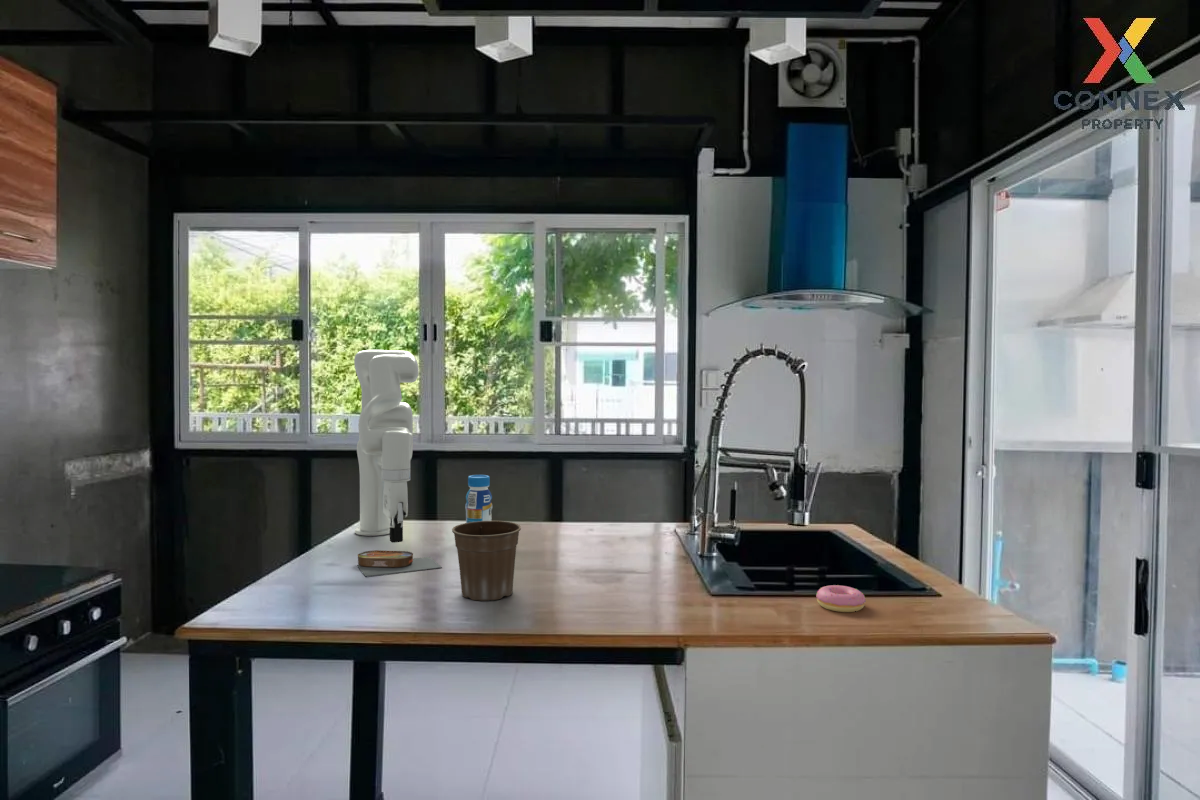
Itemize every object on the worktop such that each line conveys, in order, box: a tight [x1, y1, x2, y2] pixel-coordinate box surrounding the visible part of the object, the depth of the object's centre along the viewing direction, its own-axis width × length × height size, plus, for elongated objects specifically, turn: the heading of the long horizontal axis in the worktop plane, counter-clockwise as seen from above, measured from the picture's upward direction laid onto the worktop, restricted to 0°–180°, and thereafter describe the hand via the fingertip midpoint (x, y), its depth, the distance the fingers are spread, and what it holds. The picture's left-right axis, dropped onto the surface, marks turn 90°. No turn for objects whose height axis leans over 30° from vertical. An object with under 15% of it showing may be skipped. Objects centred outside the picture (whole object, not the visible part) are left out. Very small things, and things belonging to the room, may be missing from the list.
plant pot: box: [451, 520, 522, 602], centre depth 180 cm, size 16×16×16 cm
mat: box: [356, 556, 443, 577], centre depth 204 cm, size 12×20×1 cm, turn 118°
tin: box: [357, 549, 414, 568], centre depth 205 cm, size 15×3×8 cm
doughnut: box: [815, 584, 866, 613], centre depth 174 cm, size 11×11×4 cm
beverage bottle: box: [464, 474, 493, 523], centre depth 237 cm, size 8×8×20 cm
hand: (396, 541), depth 206 cm, fingers closed
